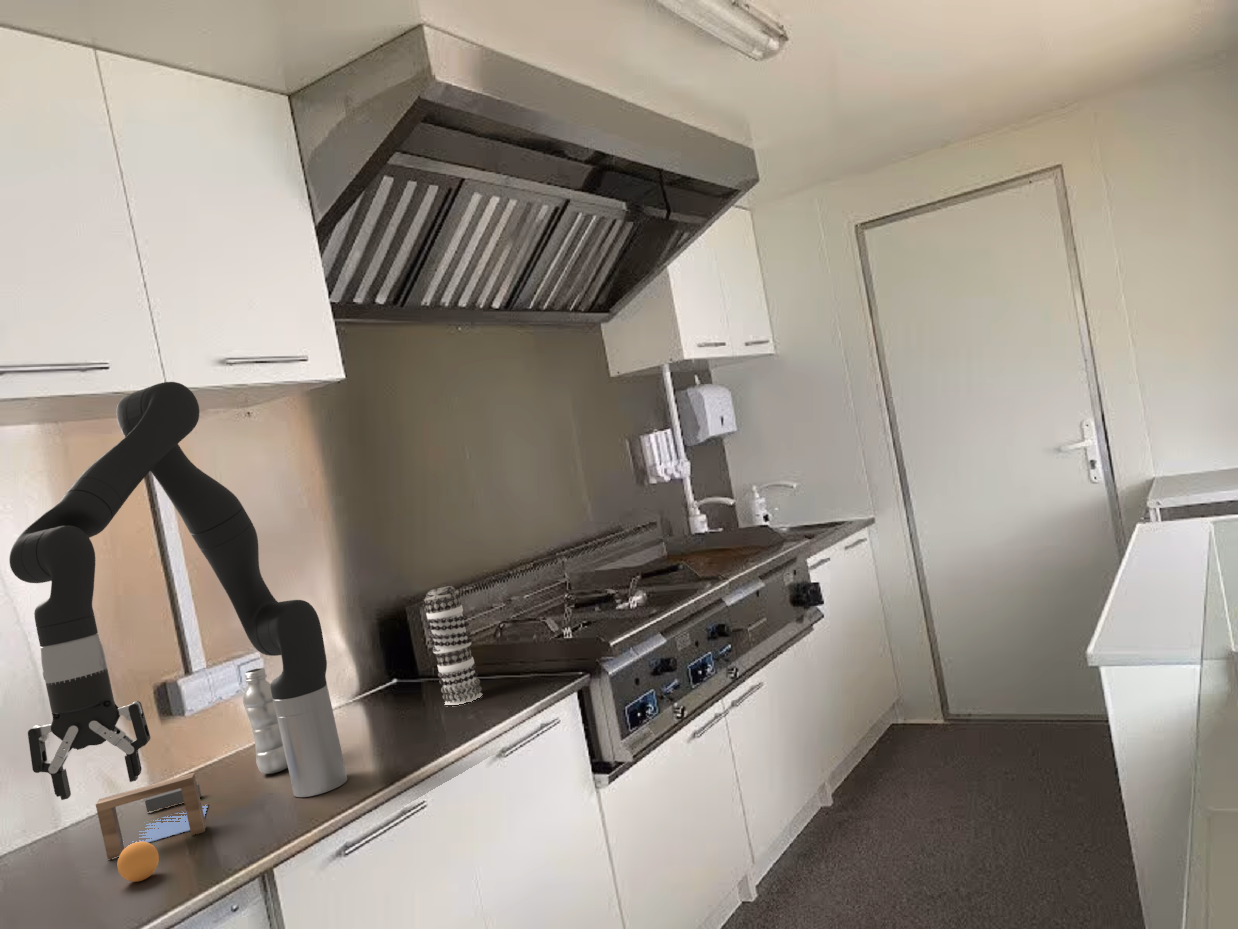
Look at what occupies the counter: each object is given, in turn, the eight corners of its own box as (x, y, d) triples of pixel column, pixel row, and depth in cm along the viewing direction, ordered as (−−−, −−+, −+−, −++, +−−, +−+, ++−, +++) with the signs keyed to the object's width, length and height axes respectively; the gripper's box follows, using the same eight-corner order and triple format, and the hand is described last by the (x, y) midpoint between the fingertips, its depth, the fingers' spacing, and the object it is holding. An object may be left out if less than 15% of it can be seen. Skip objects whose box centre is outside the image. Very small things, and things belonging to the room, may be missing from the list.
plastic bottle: (298, 762, 194) (276, 662, 193) (288, 774, 187) (265, 670, 187) (266, 769, 194) (244, 669, 193) (254, 781, 187) (231, 678, 186)
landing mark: (130, 828, 174) (129, 826, 174) (208, 805, 177) (208, 804, 177) (116, 852, 161) (116, 851, 161) (201, 827, 165) (201, 826, 165)
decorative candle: (433, 707, 217) (409, 595, 216) (464, 693, 224) (441, 585, 223) (462, 707, 211) (437, 592, 210) (492, 693, 218) (468, 582, 218)
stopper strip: (149, 811, 182) (146, 797, 182) (201, 796, 184) (198, 783, 184) (147, 814, 180) (144, 800, 180) (200, 799, 183) (197, 785, 183)
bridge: (111, 854, 161) (99, 799, 161) (206, 826, 165) (194, 772, 165) (108, 860, 158) (95, 804, 158) (204, 832, 162) (192, 777, 162)
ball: (125, 879, 148) (117, 843, 148) (164, 867, 149) (156, 831, 149) (118, 892, 143) (110, 855, 142) (159, 880, 144) (151, 843, 144)
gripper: (137, 656, 141) (161, 768, 141) (26, 681, 137) (50, 796, 137) (126, 663, 134) (151, 781, 134) (9, 690, 130) (34, 812, 130)
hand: (100, 789), depth 135 cm, fingers open, 8 cm apart
